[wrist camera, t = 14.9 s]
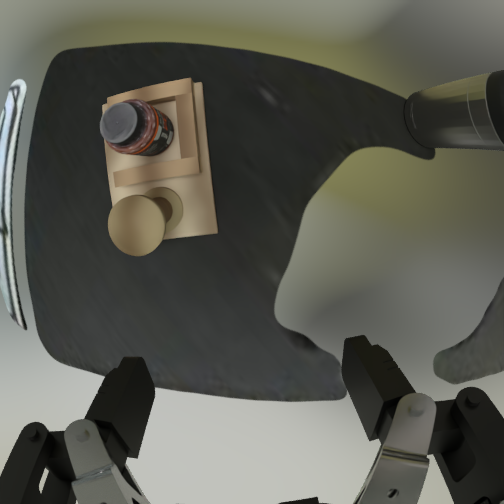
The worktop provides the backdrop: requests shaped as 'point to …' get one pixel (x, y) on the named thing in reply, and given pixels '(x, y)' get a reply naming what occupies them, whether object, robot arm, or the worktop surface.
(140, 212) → the bobbin post
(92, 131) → the worktop surface
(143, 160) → the notched board
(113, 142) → the supplement bottle
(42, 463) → the robot arm
